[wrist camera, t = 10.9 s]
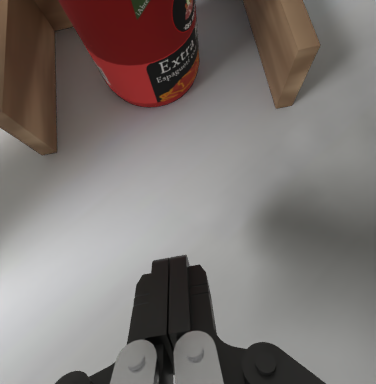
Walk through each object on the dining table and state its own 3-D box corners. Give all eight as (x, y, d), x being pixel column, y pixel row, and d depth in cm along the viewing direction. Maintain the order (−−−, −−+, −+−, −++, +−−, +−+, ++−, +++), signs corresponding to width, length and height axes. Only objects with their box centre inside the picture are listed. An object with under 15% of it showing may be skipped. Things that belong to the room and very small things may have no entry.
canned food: (178, 122, 20) (138, -37, 10) (89, 94, 22) (-28, -71, 11) (214, 45, 22) (215, -163, 11) (130, 24, 23) (61, -177, 13)
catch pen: (42, 155, 20) (-18, 115, 15) (42, 23, 24) (-6, -44, 19) (292, 105, 20) (320, 45, 14) (249, -23, 23) (259, -107, 18)
